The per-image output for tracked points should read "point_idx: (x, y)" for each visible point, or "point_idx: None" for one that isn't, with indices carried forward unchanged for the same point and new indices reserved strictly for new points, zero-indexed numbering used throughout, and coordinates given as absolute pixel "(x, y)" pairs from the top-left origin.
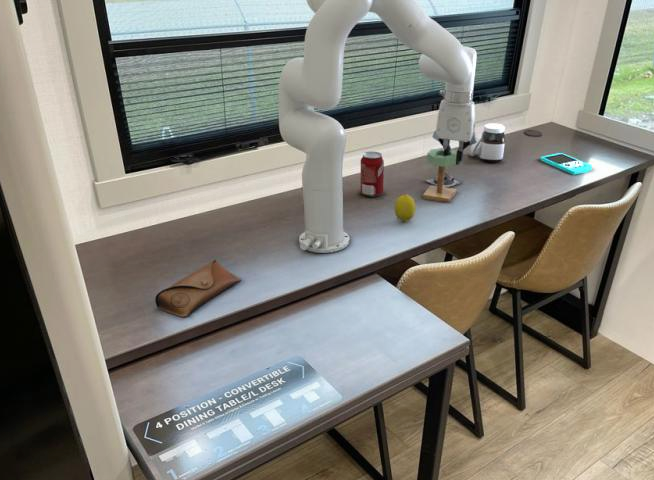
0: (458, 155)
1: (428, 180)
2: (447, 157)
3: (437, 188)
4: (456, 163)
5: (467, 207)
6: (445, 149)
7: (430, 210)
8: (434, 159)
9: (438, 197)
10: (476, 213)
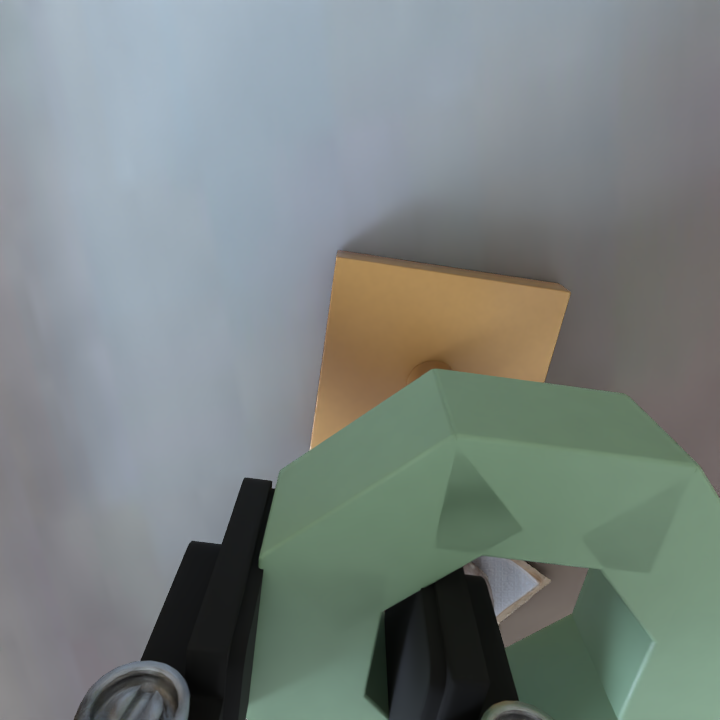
0: (214, 580)
1: (525, 586)
2: (422, 492)
3: None
4: (264, 484)
5: (174, 187)
6: (494, 710)
7: (485, 30)
8: (655, 435)
9: (434, 271)
10: (70, 68)
